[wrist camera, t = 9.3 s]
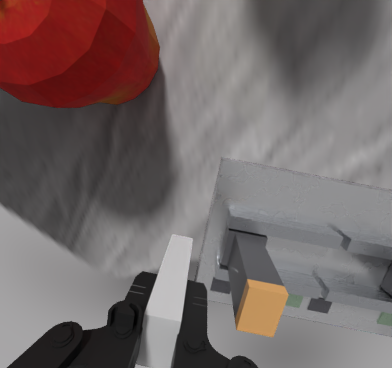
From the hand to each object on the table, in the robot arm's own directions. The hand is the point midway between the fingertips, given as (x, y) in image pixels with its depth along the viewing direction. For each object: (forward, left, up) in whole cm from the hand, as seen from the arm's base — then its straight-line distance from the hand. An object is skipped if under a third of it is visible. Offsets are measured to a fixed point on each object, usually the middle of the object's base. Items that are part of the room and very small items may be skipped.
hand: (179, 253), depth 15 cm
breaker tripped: (+5, 0, -3) cm, 6 cm away
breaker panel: (+16, 0, -5) cm, 17 cm away
